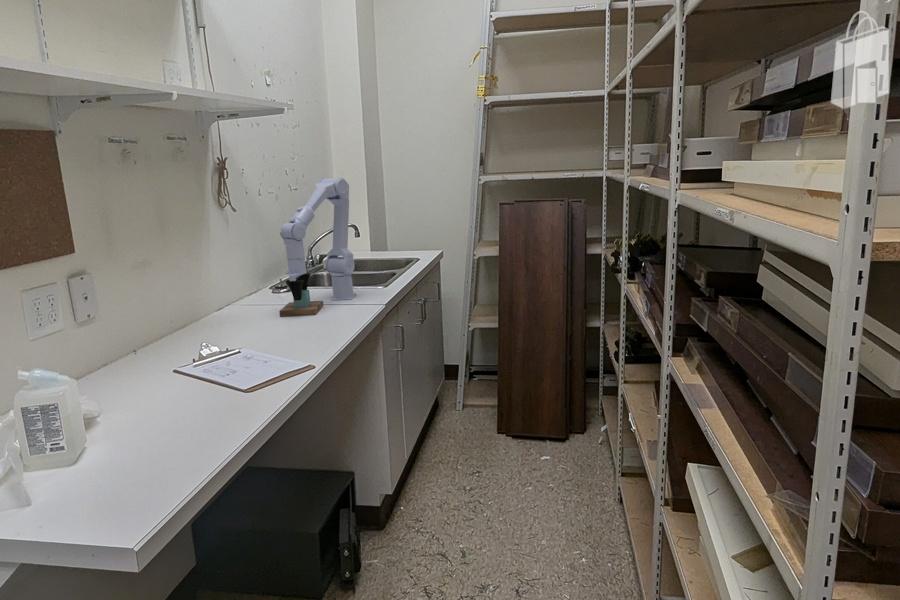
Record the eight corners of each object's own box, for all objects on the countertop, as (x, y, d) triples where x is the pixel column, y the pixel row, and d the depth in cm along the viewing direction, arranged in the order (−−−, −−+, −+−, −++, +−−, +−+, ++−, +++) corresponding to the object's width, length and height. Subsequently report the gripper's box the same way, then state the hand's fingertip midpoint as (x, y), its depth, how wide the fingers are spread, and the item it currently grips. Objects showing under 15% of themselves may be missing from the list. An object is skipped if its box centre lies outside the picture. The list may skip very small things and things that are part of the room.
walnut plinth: (289, 307, 204) (289, 302, 203) (323, 306, 204) (322, 300, 203) (280, 316, 192) (279, 311, 192) (315, 314, 192) (315, 309, 192)
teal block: (297, 304, 200) (295, 290, 199) (310, 303, 200) (308, 289, 199) (294, 307, 195) (292, 293, 194) (307, 306, 195) (305, 292, 194)
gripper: (289, 255, 201) (294, 293, 204) (278, 262, 187) (283, 303, 190) (310, 254, 201) (314, 292, 204) (299, 261, 187) (304, 302, 190)
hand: (300, 297), depth 197 cm, fingers open, 7 cm apart
